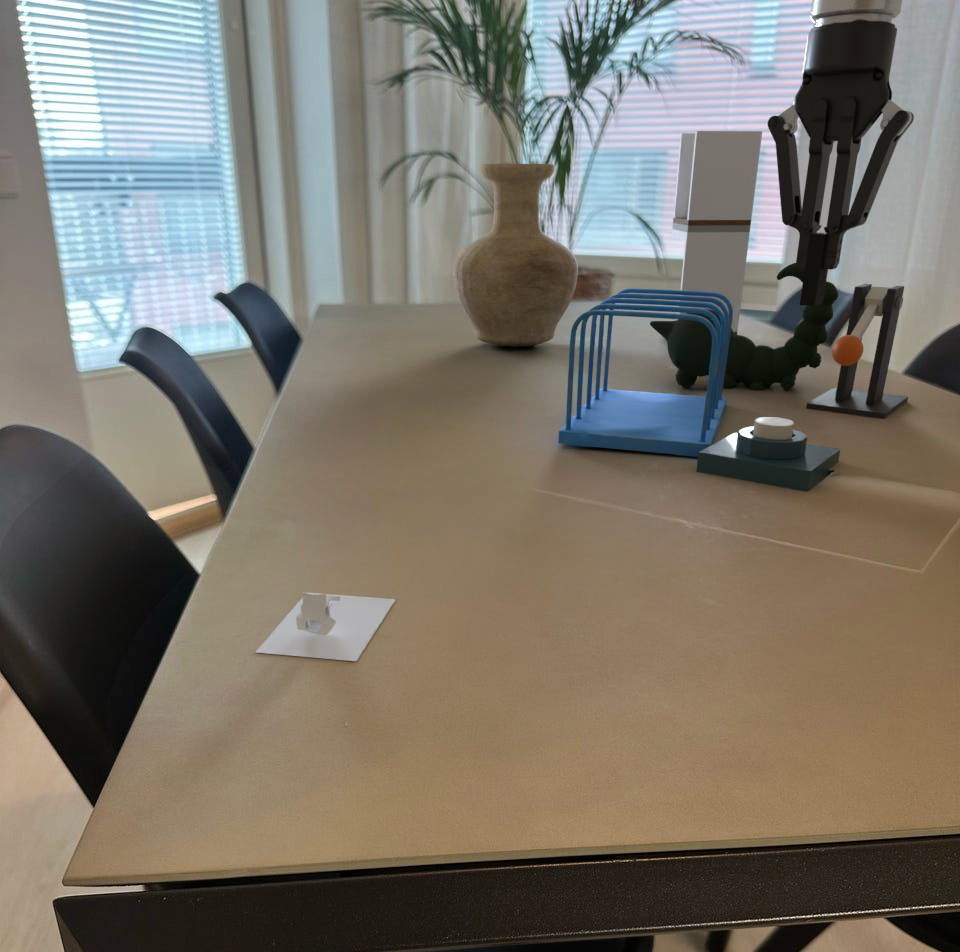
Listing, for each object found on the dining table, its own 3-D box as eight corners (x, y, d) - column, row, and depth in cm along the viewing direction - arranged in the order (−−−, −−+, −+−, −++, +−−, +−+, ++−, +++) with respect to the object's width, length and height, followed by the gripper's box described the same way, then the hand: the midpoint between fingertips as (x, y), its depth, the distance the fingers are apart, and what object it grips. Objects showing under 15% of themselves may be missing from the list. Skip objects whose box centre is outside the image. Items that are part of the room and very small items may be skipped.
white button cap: (796, 436, 97) (799, 420, 96) (784, 444, 94) (786, 427, 93) (760, 431, 99) (762, 415, 98) (746, 438, 96) (749, 422, 96)
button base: (837, 469, 99) (843, 432, 97) (807, 492, 92) (814, 453, 90) (731, 451, 105) (736, 416, 103) (696, 472, 98) (700, 435, 96)
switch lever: (856, 373, 111) (858, 347, 108) (827, 369, 113) (828, 344, 110) (893, 309, 118) (896, 283, 115) (865, 307, 119) (866, 281, 117)
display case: (719, 334, 182) (742, 133, 166) (736, 342, 172) (762, 131, 156) (663, 334, 181) (680, 133, 165) (676, 343, 171) (696, 131, 156)
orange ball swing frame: (883, 425, 116) (909, 293, 109) (804, 414, 121) (825, 288, 114) (906, 407, 125) (932, 284, 117) (832, 398, 130) (853, 280, 123)
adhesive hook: (295, 637, 63) (290, 595, 62) (308, 621, 65) (304, 581, 64) (337, 640, 63) (333, 599, 61) (348, 624, 65) (345, 584, 63)
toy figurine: (810, 399, 136) (645, 373, 143) (845, 264, 127) (668, 243, 134) (808, 413, 128) (634, 385, 135) (845, 270, 119) (657, 247, 126)
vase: (513, 360, 156) (516, 163, 142) (429, 344, 171) (425, 164, 157) (599, 345, 169) (609, 163, 156) (515, 331, 184) (517, 164, 170)
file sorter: (708, 461, 102) (725, 316, 95) (557, 448, 106) (562, 309, 99) (725, 411, 123) (740, 290, 116) (598, 402, 127) (605, 285, 120)
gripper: (766, 25, 82) (735, 303, 92) (921, 11, 75) (868, 312, 86) (794, 34, 87) (761, 296, 98) (940, 21, 80) (888, 304, 91)
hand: (811, 303), depth 92 cm, fingers closed
